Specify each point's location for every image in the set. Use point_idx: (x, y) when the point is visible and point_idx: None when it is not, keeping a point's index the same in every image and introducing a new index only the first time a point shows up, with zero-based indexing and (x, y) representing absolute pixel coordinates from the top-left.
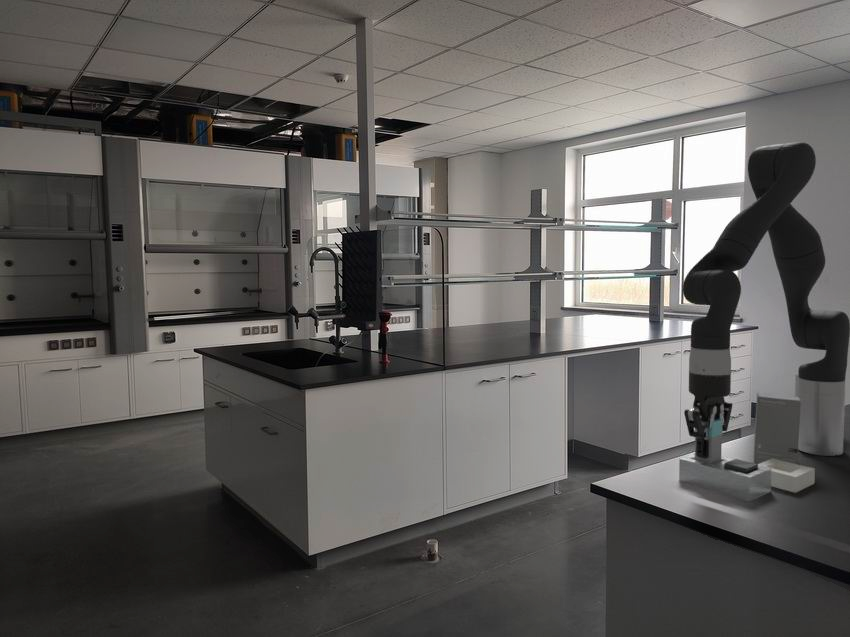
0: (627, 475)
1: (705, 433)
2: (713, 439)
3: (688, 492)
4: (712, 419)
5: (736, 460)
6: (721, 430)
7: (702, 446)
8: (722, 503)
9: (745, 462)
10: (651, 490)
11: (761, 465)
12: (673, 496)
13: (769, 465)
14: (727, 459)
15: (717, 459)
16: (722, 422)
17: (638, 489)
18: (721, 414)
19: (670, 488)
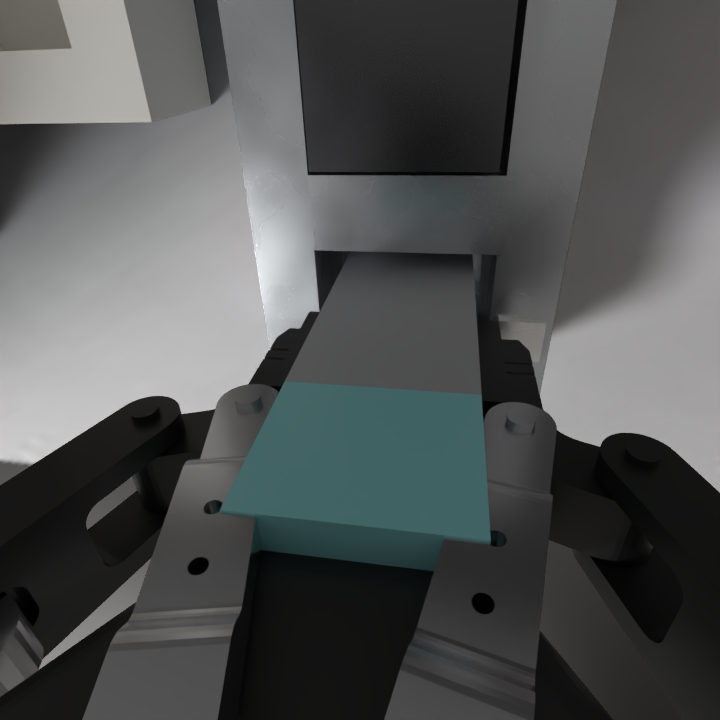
0: None
1: (549, 464)
2: (447, 376)
3: (584, 275)
4: (486, 580)
5: (348, 143)
6: (275, 408)
7: (535, 392)
8: (640, 49)
9: (334, 56)
10: (683, 396)
11: (80, 89)
12: (705, 294)
13: (24, 51)
14: (296, 246)
15: (389, 278)
16: (219, 474)
17: (709, 436)
18: (198, 583)
19: (589, 356)
